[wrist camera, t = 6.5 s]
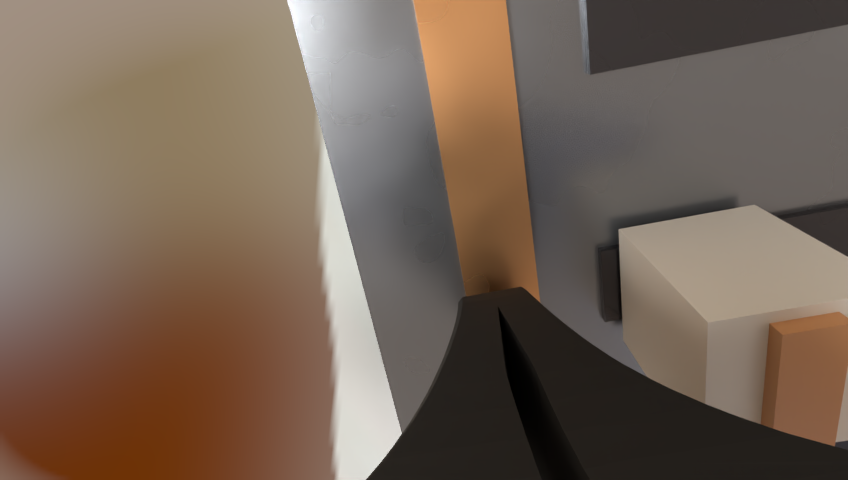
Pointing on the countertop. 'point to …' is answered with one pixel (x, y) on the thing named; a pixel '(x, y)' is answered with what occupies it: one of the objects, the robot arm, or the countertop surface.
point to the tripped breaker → (741, 317)
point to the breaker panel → (562, 145)
